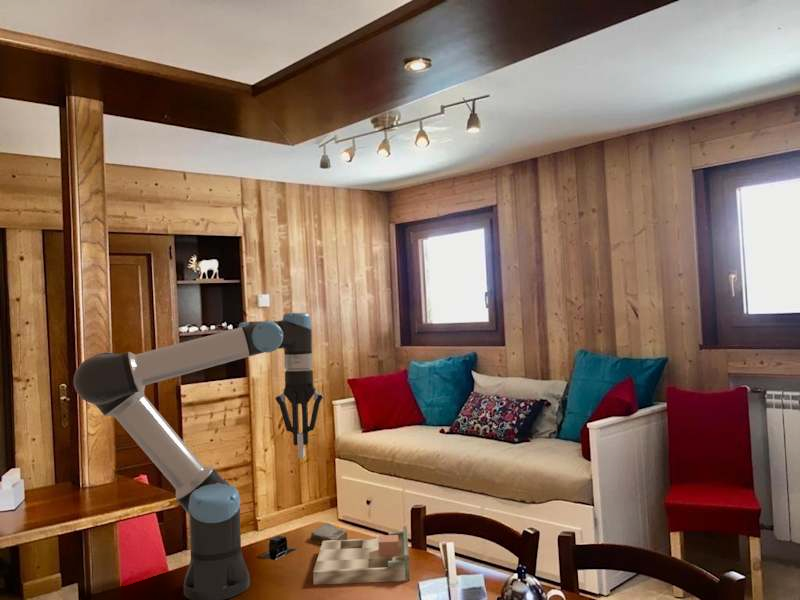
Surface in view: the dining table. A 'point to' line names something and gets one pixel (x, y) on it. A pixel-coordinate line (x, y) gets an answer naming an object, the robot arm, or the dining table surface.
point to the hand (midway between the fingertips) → (301, 456)
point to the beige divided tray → (361, 561)
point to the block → (388, 545)
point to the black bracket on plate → (278, 548)
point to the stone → (328, 533)
